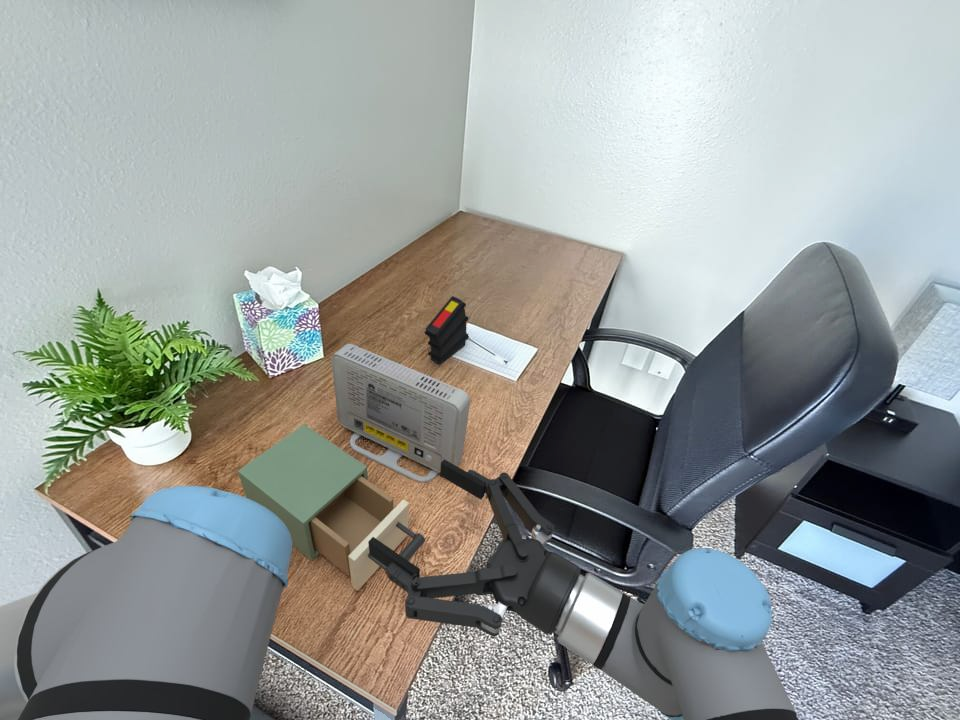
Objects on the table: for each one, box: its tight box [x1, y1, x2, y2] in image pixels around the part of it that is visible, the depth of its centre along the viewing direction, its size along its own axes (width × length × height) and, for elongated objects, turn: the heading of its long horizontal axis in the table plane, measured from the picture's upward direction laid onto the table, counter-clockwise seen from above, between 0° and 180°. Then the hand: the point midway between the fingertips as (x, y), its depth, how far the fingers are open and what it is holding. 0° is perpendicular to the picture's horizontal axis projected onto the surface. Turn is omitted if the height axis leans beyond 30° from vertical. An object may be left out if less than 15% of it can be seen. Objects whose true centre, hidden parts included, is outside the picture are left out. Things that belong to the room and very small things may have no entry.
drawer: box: [308, 476, 426, 592], centre depth 71 cm, size 18×11×9 cm, turn 57°
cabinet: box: [237, 423, 369, 562], centre depth 75 cm, size 15×13×11 cm
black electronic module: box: [424, 295, 469, 365], centre depth 112 cm, size 4×13×15 cm, turn 146°
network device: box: [330, 343, 471, 484], centre depth 84 cm, size 26×9×20 cm, turn 65°
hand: (409, 503), depth 57 cm, fingers open, 13 cm apart
